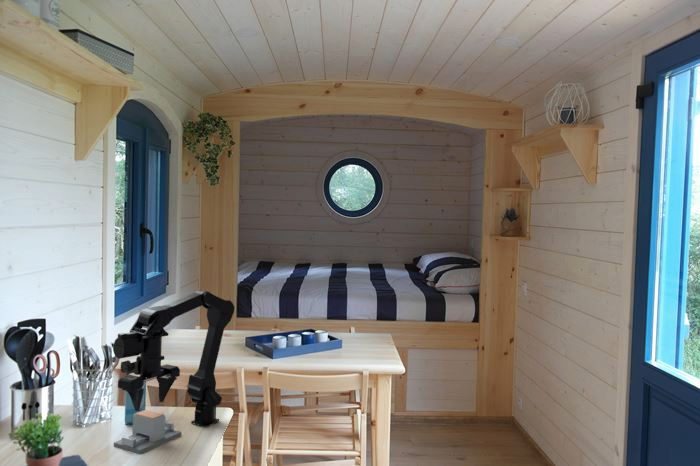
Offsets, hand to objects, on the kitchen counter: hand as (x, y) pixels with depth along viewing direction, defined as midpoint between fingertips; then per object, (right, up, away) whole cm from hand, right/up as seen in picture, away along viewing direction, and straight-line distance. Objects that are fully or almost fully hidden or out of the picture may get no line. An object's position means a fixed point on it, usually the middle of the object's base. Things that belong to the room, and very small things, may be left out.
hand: (149, 406), depth 168 cm
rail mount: (0, -10, 0) cm, 10 cm away
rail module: (0, -9, 0) cm, 9 cm away
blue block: (-11, -9, +18) cm, 23 cm away
